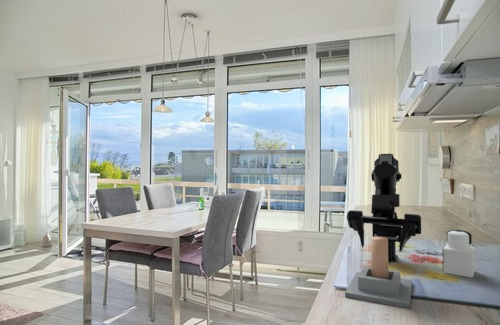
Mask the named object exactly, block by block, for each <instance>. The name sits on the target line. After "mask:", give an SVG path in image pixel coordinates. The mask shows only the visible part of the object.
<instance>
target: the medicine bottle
mask: <svg viewBox="0 0 500 325" xmlns="http://www.w3.org/2000/svg"><path fill="white" fill-rule="evenodd" d="M472 236H473V235H472V233H470V232H469V231H467V230H463V229H461V230H460V229H449V230H447V232H446V245H445V246H444V247H443V249H442V270H443V271H442V272H443V273H444V274H448V275H454V276H459V277H464V278H470V279H473V278H474V275H475V273H476V248H475V247H474V246H472V242H473V240H472V238H473V237H472Z"/></svg>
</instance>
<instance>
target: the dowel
mask: <svg viewBox="0 0 500 325" xmlns="http://www.w3.org/2000/svg"><path fill="white" fill-rule="evenodd" d="M370 243H371V244H370V260H371V261H370V262H371V263H370V264H371V266H370V267H371V277H376V278H382V279H388V270H389V261H388V238H385V237H373V236H371V237H370Z"/></svg>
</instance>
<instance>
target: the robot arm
mask: <svg viewBox="0 0 500 325" xmlns="http://www.w3.org/2000/svg"><path fill="white" fill-rule="evenodd" d="M373 165H374V168H373V170H371V181H372V182H374V188H375V189H374V190H375V191H374V194H372V195H371V211H370V212H371V214H372V215H364V214H363V211H362V210H355V209H354V210H353V209H350V210H349V211H347V215H346V220H347V223H348V226H349V228H350V229H352V230H353V231H355V232H357V235H358V238H359V240H360V245H361V248H364V246H365V229H364V226H365V224H371V226H372V227H371V228H372V229H371V230H372V237H385V238H388V262H394V263H395V262H397V261H398V258H399V256H398V254H397V252H396V251H397V250H396V249H397V242H398V243H399V247H398V249H399V250H398V251H399V252H401V253H402V251H403V250H404V248H405V245H407V242H408V241H409V240H410V239H411V238H412V237H415V236H416V235H421V234H422V217H421V215H420V214H416V213H404V215H403V216H404V218H398V214H397V211H396V208H400V205H401V204H400V200H401V199H400V198H401V197H400V193H397V188H396V186H397V183H399V182H400V180H401V179H402V174H401V172H400V170H399V160H397V159H396V158H395V157H394V153H380V154H378V158H376V159H375V160H374V164H373Z"/></svg>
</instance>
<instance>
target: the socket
mask: <svg viewBox="0 0 500 325" xmlns="http://www.w3.org/2000/svg"><path fill="white" fill-rule="evenodd" d="M412 280H413V279H406V278H401V271H400V270H395V269H394V270H393V269H388V279H382V278H376V277H371V266H365V265H364V266H363V267H362V269H361V271H359V272H358V271H356V272H355V274H354V276H353V277H352V279H351V281H350V283H349V284H348V287H347V288H346V290H345V291H344V297H345V298H352V299H355V300H356V299H357V300H361V301H366V302H367V301H368V302H372V303H379V304H383V305H388V306H389V305H390V306H395V307H400V308H405V309H410V308H411V299H412V283H413V282H412Z"/></svg>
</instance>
